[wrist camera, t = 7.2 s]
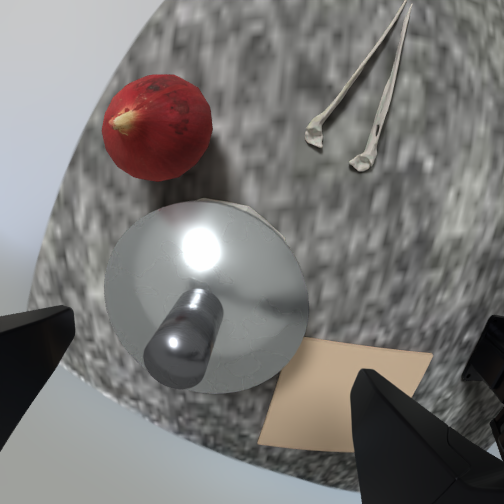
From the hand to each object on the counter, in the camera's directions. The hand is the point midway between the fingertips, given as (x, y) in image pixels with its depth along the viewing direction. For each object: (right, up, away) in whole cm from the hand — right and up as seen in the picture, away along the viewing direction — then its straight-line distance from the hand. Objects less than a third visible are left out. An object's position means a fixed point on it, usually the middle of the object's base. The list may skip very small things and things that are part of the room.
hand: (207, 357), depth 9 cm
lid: (-1, 0, +9) cm, 9 cm away
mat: (+9, -10, +15) cm, 20 cm away
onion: (-3, +11, +10) cm, 15 cm away
